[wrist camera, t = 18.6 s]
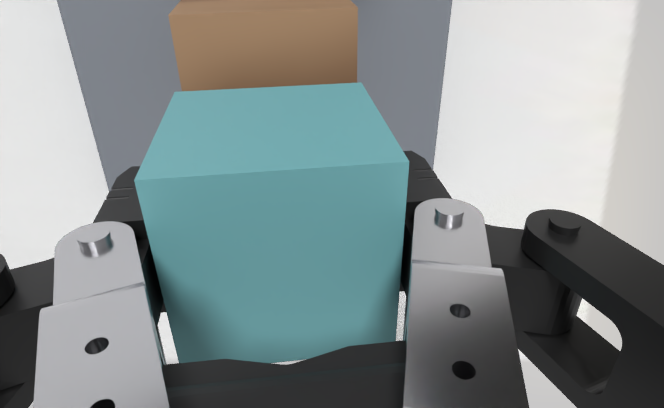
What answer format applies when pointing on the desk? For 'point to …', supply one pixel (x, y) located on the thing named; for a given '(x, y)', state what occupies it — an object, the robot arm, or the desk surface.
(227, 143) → the teal block
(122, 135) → the slate gray board
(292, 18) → the walnut block
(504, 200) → the desk surface
